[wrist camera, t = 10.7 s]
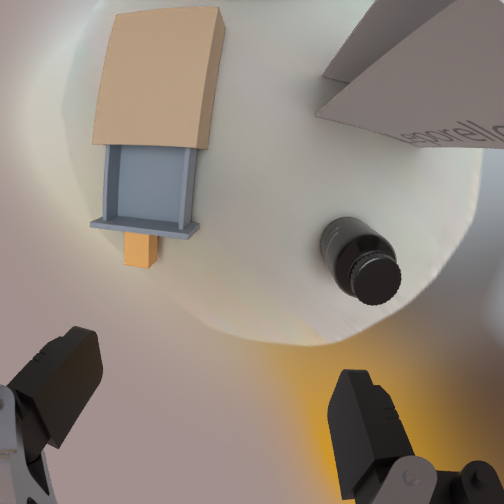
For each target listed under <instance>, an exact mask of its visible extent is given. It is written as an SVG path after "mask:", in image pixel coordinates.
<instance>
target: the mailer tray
mask: <svg viewBox="0 0 504 504" xmlns="http://www.w3.org/2000/svg"><path fill="white" fill-rule="evenodd" d="M197 149H198V148H190V147H175V146H155V145H109V144H106V156H105V170H104V189H103V217H101V218H99V219H96V220H94V221H91V222H90V227H92V228H100V229H108V230H116V231H124V252H125V265H129V266H135V267H141V268H147V269H149V268H150V267H151V266H152V265H153V264H154V263H155V262H156V261H157V245H158V236H163V237H171V238H179V239H186V240H188V239H189V238H190V237H191V236H192V235H193V234H194V233H195V232H196V231H197V230H198V229H199V223H194V222H191V210H192V198H193V187H194V177H195V167H196V158H197Z"/></svg>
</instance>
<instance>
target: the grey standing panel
mask: <svg viewBox="0 0 504 504" xmlns="http://www.w3.org/2000/svg"><path fill="white" fill-rule="evenodd" d="M322 77H326V78H330V79H334V80H338V81H342V82H346V83H349V85H347V86H346V87H345V88H344V89H343V90H342V91H340V92H339V93H338V94H337V95H336V96H335V97H333V98H332V99H331V100H330V101H329V102H328V103H327V104H326V105H324V106H323V107H322V108H321V109H320V110H319V111H318V112H317V113H315V116H316V117H320V118H324V119H329V120H333V121H337V122H341V123H344V124H348V125H352V126H355V127H359V128H362V129H366V130H369V131H373V132H376V133H379V134H382V135H386V136H389V137H392V138H395V139H398V140H401V141H404V142H407V143H409V144H412V145H415V146H418V147H420V148H421V147H465V148H494V149H504V0H375V2H374V3H373V4H372V6H371V7H370V8H369V10H368V11H367V12H366V14H365V15H364V16H363V18H362V19H361V21H360V22H359V23H358V25H357V26H356V27H355V29H354V30H353V32H352V33H351V34H350V36H349V37H348V38H347V40H346V41H345V43H344V44H343V45H342V47H341V48H340V50H339V51H338V52H337V54H336V55H335V57H334V58H333V60H332V61H331V62H330V64H329V65H328V67H327V68H326V70H325V71H324V72H323V74H322Z"/></svg>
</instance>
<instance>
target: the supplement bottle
mask: <svg viewBox="0 0 504 504" xmlns="http://www.w3.org/2000/svg"><path fill="white" fill-rule="evenodd" d="M321 252H322V255H323V258H324V260H325V262H326V264H327V266H328V268H329V270H330V272H331V274H332V276H333V278H334V280H335V281H336V283H337V285H338V286H339V288H340V289H341V290H342V291H343V292H344V293H346V294H348V295H349V296H352V297H355V298H358V299H359V301H362V302H363V303H364V304H367V305H371V306H373V305H376V306H377V305H379V304H383V303H386V302H387V301H388V300H390V299H391V298H392V297H393V296H394V294H396V293H397V290H398V289H399V286H400V284H401V273H400V272H401V270H400V268H399V266H398V264H397V258H396V254H395V251H394V249H393V247H392V245H391V244H390V243H389V242H388V241H387V240H386V239H385V238H384V237H382V236H381V235H380V234H379V233H377V232H376V231H375V230H373V229H372V228H371V227H369V226H368V225H367V224H365V223H364V222H362V221H361V220H359V219H356V218H351V217H346V218H341V219H338V220H336V221H334V222H333V223H331V224H330V225H329V226H328V227H327V229H326V230H325V232H324V234H323V236H322V239H321Z"/></svg>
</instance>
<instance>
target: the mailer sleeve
mask: <svg viewBox="0 0 504 504" xmlns="http://www.w3.org/2000/svg"><path fill="white" fill-rule="evenodd" d="M224 34H225V25H224V22H223V19H222V16H221V13H220V10H219V7H182V8H167V9H156V10H146V11H138V12H131V13H125V14H118V15H116V17H115V21H114V24H113V28H112V32H111V36H110V40H109V44H108V48H107V52H106V57H105V61H104V66H103V71H102V77H101V82H100V88H99V94H98V100H97V107H96V114H95V122H94V131H93V141H92V145H106V144H109V145H155V146H175V147H190V148H198V149H206V150H208V141H209V133H210V125H211V118H212V110H213V103H214V96H215V89H216V82H217V76H218V69H219V63H220V57H221V51H222V45H223V39H224Z"/></svg>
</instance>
